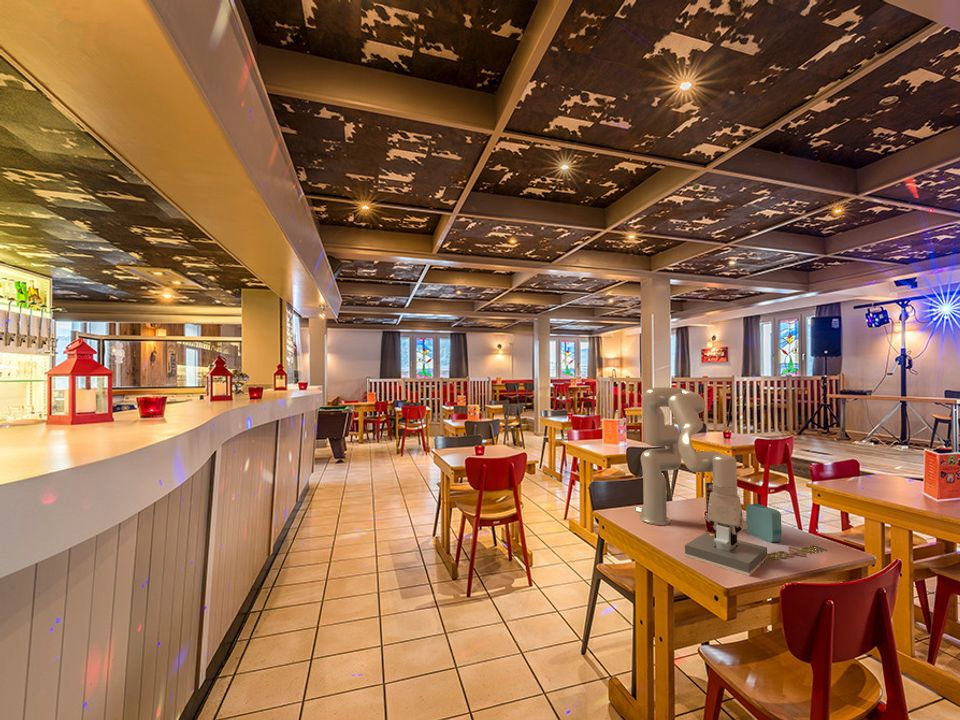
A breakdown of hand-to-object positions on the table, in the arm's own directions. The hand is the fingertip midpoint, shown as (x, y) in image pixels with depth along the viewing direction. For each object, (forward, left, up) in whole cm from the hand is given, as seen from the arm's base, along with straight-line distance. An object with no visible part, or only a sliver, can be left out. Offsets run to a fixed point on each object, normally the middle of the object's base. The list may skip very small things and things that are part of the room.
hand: (725, 542), depth 150 cm
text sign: (+13, +18, -6) cm, 23 cm away
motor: (-17, +41, -6) cm, 45 cm away
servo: (0, 0, -2) cm, 2 cm away
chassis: (0, 0, -5) cm, 5 cm away
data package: (+3, +33, -6) cm, 34 cm away
